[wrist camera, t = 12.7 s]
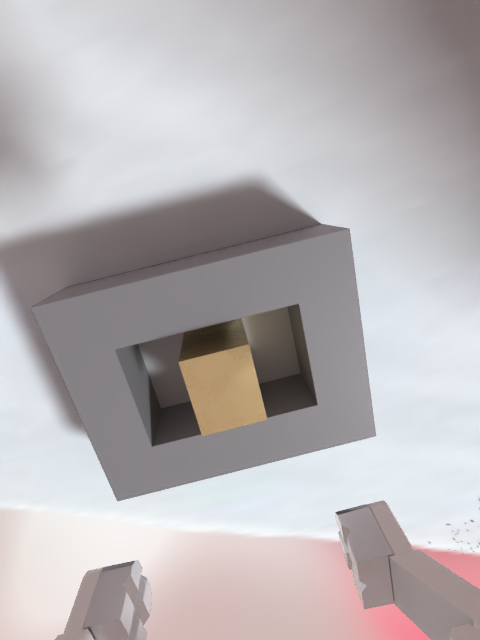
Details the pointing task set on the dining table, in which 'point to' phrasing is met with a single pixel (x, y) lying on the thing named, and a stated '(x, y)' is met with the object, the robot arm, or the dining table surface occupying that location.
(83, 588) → the robot arm
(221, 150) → the dining table surface
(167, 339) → the well
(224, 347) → the tan block
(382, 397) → the dining table surface
